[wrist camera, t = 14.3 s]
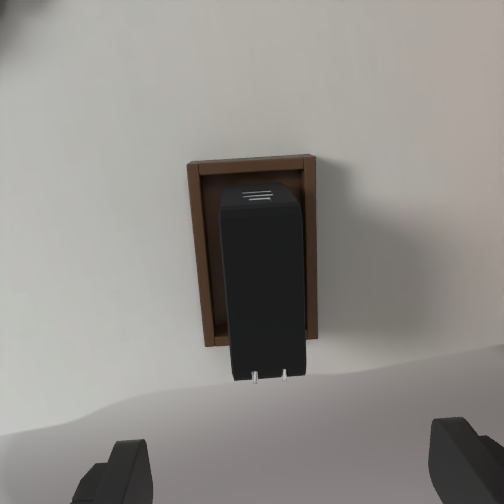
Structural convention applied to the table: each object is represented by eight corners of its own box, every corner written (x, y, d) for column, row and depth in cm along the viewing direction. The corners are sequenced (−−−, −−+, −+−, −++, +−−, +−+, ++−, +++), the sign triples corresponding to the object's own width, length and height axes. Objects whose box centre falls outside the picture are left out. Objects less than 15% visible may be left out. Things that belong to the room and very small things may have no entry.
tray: (309, 154, 29) (315, 156, 27) (312, 324, 33) (318, 339, 31) (190, 161, 29) (186, 164, 27) (207, 331, 33) (204, 347, 31)
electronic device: (280, 180, 29) (303, 204, 20) (286, 307, 32) (308, 382, 23) (222, 184, 29) (217, 210, 20) (233, 311, 32) (232, 387, 23)
